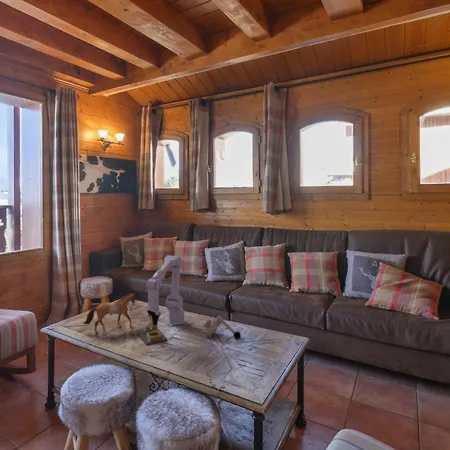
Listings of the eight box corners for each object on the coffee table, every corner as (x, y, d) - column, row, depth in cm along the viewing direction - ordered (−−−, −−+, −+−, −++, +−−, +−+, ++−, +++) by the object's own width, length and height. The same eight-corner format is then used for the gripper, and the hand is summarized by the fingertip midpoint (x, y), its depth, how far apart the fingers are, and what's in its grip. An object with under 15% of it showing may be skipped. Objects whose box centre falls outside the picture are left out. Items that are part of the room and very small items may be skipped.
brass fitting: (156, 326, 186) (156, 313, 186) (158, 329, 183) (158, 315, 182) (149, 328, 184) (149, 314, 183) (151, 330, 181) (151, 317, 180)
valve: (223, 356, 185) (240, 339, 180) (198, 332, 186) (214, 315, 182) (227, 346, 194) (243, 331, 190) (203, 324, 196) (219, 308, 192)
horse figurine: (136, 323, 207) (135, 291, 205) (138, 327, 200) (138, 295, 198) (83, 331, 193) (82, 298, 191) (84, 336, 186) (83, 302, 184)
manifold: (155, 327, 200) (155, 317, 200) (167, 340, 182) (167, 330, 182) (135, 331, 194) (135, 321, 194) (146, 345, 176) (146, 334, 176)
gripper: (142, 297, 186) (143, 320, 187) (150, 304, 174) (150, 329, 175) (154, 295, 190) (154, 318, 191) (163, 302, 177) (163, 326, 179)
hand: (153, 323), depth 183 cm, fingers closed on brass fitting, 4 cm apart
